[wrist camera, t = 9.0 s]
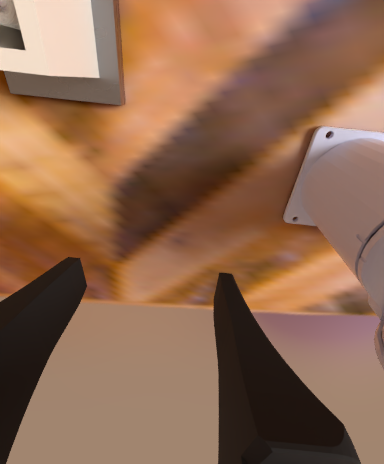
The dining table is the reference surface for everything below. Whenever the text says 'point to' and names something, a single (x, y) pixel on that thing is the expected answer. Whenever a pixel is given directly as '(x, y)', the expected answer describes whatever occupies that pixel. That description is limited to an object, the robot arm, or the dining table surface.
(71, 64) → the square tube cup
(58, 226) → the dining table surface
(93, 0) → the shaft block
